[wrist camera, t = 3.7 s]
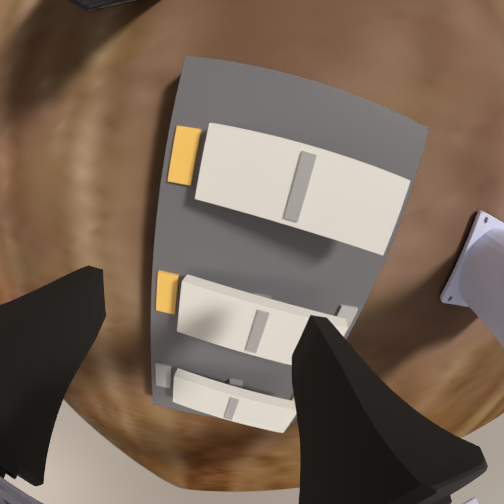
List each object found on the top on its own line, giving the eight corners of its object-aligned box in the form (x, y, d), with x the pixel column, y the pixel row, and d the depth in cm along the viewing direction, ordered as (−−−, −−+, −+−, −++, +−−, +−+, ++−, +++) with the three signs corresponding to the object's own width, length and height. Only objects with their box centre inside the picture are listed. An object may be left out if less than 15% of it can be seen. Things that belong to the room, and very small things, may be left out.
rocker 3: (299, 402, 18) (298, 411, 17) (284, 425, 19) (282, 434, 19) (177, 367, 19) (173, 376, 18) (176, 394, 20) (172, 402, 19)
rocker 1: (405, 178, 11) (411, 181, 10) (379, 249, 13) (383, 256, 12) (215, 123, 12) (208, 122, 11) (201, 195, 14) (193, 199, 13)
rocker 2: (346, 318, 15) (347, 328, 14) (322, 363, 16) (322, 373, 15) (187, 274, 15) (181, 282, 14) (181, 323, 17) (176, 332, 16)
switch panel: (411, 126, 14) (432, 128, 12) (290, 408, 25) (293, 428, 22) (194, 63, 12) (184, 54, 10) (157, 388, 23) (152, 407, 21)
